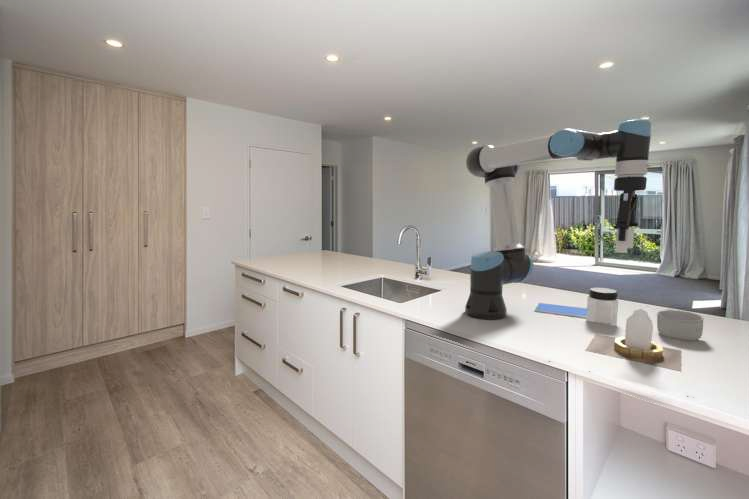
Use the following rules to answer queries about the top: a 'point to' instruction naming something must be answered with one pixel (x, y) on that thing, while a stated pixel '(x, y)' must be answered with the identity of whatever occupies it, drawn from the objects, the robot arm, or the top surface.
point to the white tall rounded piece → (639, 330)
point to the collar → (638, 350)
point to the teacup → (680, 324)
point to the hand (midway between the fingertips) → (624, 250)
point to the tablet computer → (561, 310)
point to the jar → (602, 306)
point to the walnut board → (606, 347)
